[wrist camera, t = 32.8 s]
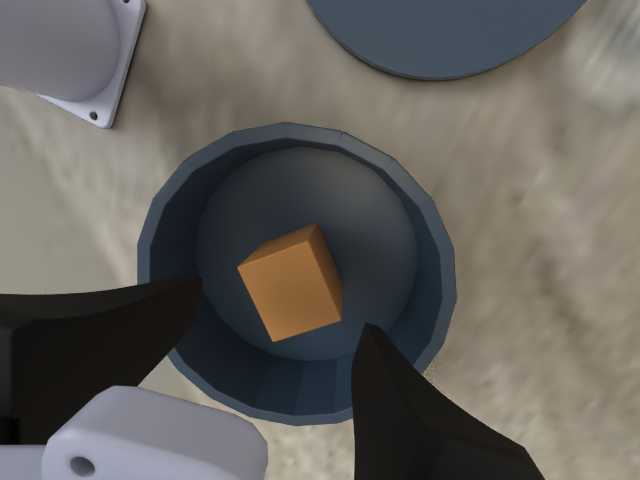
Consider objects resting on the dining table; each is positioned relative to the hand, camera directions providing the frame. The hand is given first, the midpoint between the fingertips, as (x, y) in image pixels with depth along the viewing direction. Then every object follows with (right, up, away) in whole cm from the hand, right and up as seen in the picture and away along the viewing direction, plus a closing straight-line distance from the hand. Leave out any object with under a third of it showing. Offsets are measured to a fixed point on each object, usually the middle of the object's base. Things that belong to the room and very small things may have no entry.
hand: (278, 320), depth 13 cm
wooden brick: (+1, +2, +7) cm, 8 cm away
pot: (+1, +2, +8) cm, 8 cm away
